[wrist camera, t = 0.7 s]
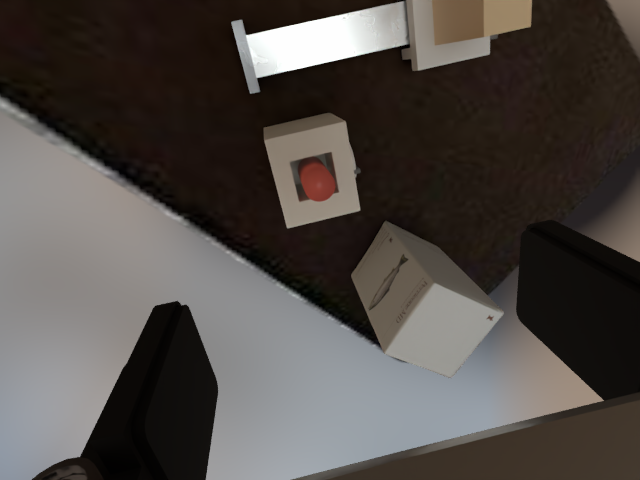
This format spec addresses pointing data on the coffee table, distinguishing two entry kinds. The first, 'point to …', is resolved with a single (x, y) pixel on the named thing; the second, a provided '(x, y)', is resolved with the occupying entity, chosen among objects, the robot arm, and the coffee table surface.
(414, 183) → the coffee table surface
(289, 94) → the coffee table surface
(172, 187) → the coffee table surface
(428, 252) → the supplement box
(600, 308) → the robot arm
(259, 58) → the rail
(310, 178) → the button
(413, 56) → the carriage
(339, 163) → the white cube box
